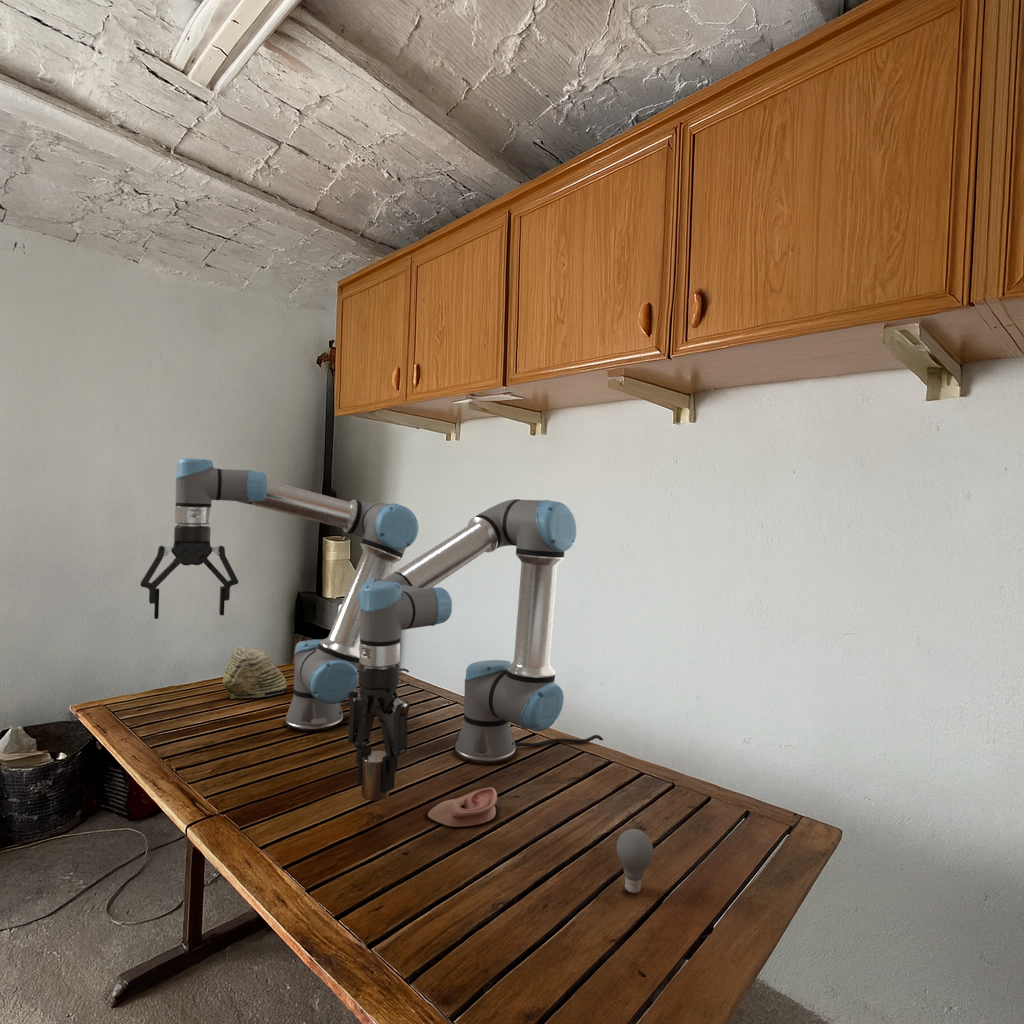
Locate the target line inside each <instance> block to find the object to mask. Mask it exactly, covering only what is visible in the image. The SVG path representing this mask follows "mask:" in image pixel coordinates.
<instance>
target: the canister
mask: <svg viewBox="0 0 1024 1024" xmlns="http://www.w3.org/2000/svg"><path fill="white" fill-rule="evenodd" d="M384 756H386V752H385V750H371V752H368V753H366V754H364V755H363V757H362V784H361V792H360V795H361V798H362V799H364V800H367V801H370V802H371V801H373V802H376V801H381V800H385V799H387V798H388V797H389V796H390V794H391V790H389V791H387V792H386V793H383V792H382V758H383V757H384Z"/></svg>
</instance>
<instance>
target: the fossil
mask: <svg viewBox="0 0 1024 1024" xmlns="http://www.w3.org/2000/svg"><path fill="white" fill-rule="evenodd" d="M222 676H223V677H222V685H223V687H224V688H225V690H226V691H228V693H229V698H230V699H250V698H264V697H271V696H275V695H281V694H284V693H285V691H286V689H287V687H288V686H287V680H286V678H285V676H284V674H283V673H282V672H281V669H279V668H278V667H277V665H276V663H275V662H274V660H273V659H272V658H271V657H270V656H269V655H268V654H267V653H266V652H265V650H264V649H263V648H260V647H258V648H251V647H247V646H246V647H245V646H238V647H237V648H236V649H235V650H233V651H232V653H231V656H230V657H229V659H228V660H227V663H226V666H225V668H224V671H223V675H222Z"/></svg>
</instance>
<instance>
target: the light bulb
mask: <svg viewBox="0 0 1024 1024" xmlns="http://www.w3.org/2000/svg"><path fill="white" fill-rule="evenodd" d="M615 849H616V854H617V857H618V859H619V861H620V863H621V865H622V867H623V873H624V874H623V875H624V876H625V878H624V888H625V890H627V891H628V892H630V893H634V894H635V893H639V892H640V891H641V889H642V887H641V886H642V879H643V877H644V875H645V871H646V868H647V867H648V866H649V864H650V863H651V861H652V859H653V855H654V847H653V843H652V841H651V838H649V836H648V835H647V834H646V833H645V832H643V831H642V830H641V829H636V828H629V829H627V830H625V831H623V832H622V833H621V834H620V835H619V837H618V839H617V841H616V847H615Z"/></svg>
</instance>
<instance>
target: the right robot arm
mask: <svg viewBox="0 0 1024 1024" xmlns="http://www.w3.org/2000/svg"><path fill="white" fill-rule="evenodd" d="M576 537H577V523H576V519H575V516H574V514H573V512H572V511H571V509H570V507H568V505H566V504H565V503H563V502H561V501H555V500H550V499H544V500H543V499H538V500H537V499H521V498H520V499H519V498H517V499H516V498H514V499H513V498H512V499H508V500H505V501H502V502H500V503H497V504H495V505H493V506H491V507H489V508H487V509H485V510H483V511H482V512H480V513H478V514H477V515H475V516H474V517H472V518H471V519H469V521H468V523H467V526H465V527H464V528H463V529H461V530H459V531H458V532H456V533H454V534H453V535H451V536H450V537H447V538H446V539H445V540H443V541H442V542H440V543H438V544H437V545H435V546H433V547H432V548H431V549H429V550H428V551H426V552H424V553H422V554H420V556H418V557H416V558H415V559H413V560H412V561H410V562H408V563H407V564H405V565H404V566H402V567H401V568H399V569H398V570H396V571H394V572H393V573H391V574H389V576H388V577H386V578H384V579H382V580H381V579H371V580H368V581H366V582H365V583H364V584H363V585H362V586H361V588H360V590H359V593H358V601H359V604H360V653H359V662H360V664H359V666H358V685H359V687H360V688H356V690H354V691H352V692H349V693H348V701H349V703H350V704H349V710H348V712H349V713H348V731H347V732H348V733H347V741H348V743H349V744H353V745H354V746H355V747H354V748H355V749H356V753H355V754H356V755H355V762H356V765H357V785H360V786H362V757H363V755H364V754H366V753H368V752H372V746H371V745H370V744H371V741H370V738H371V733H372V730H373V726H374V723H375V717H377V721H378V722H379V723H380V727H381V728H380V729H381V735H382V740H383V741H382V742H383V746H384V751H385V752H386V756H384V757H383V758H382V792H383V793H386V792H387V791H389V790H390V791H391V790H392V789H395V777H396V774H397V772H398V764H399V763H398V762H399V761H398V760H399V757H400V756H403V755H405V754H407V753H408V714H409V709H410V705H411V703H410V702H409V701H407V700H406V701H403V700H401V699H400V698H399V694H398V691H397V688H398V685H399V683H400V671H399V669H400V665H399V663H400V661H401V634H402V631H405V630H411V629H417V628H424V627H425V628H426V627H434V626H436V625H441V624H443V623H445V622H447V621H448V620H449V619H450V618H451V615H452V612H453V601H452V597H451V595H450V592H448V590H447V589H445V588H444V587H441V586H440V587H438V586H436V585H438V584H440V583H441V582H443V581H444V580H445V579H447V578H448V577H450V576H452V575H453V574H455V573H456V572H457V571H459V570H460V569H462V568H463V567H464V566H467V564H469V563H471V562H472V561H473V560H475V559H476V558H478V557H479V556H480V555H482V554H484V553H492V552H494V551H496V550H497V549H499V548H503V547H510V546H511V547H512V546H514V547H515V556H516V557H517V558H518V559H519V560H520V562H521V565H520V578H519V589H518V602H517V603H518V604H517V615H516V629H515V639H514V640H515V641H514V655H513V662H511V661H509V660H504V659H503V660H502V659H489V660H479V661H476V662H475V661H474V662H472V663H470V664H469V665H468V666H467V667H466V669H465V670H466V671H465V679H464V697H463V700H464V701H463V702H464V703H463V722H462V725H461V728H460V729H459V730H458V731H457V732H456V733H455V734H454V740H456V741H455V746H454V747H455V748H454V753H455V755H456V756H457V757H458V758H459V759H461V760H463V761H465V762H467V763H472V764H476V765H497V764H498V765H499V764H502V763H506V762H508V761H511V760H512V759H513V758H514V757H515V756H516V747H541V746H545V745H548V744H549V745H550V744H552V743H573V744H585V743H590V742H591V741H593V740H595V739H598V740H599V741H604V738H603V737H602V736H601V735H600V734H594V735H591V736H590V737H587V738H582V739H579V738H578V739H577V738H566V737H565V738H564V737H561V738H560V737H559V738H551V739H547V740H543V741H539V742H523V741H522V742H520V741H519V742H516V741H515V740H514V736H513V732H512V728H511V724H514V725H516V726H518V727H521V728H522V729H524V730H529V731H533V732H534V731H535V732H543V731H546V730H547V729H549V728H550V727H552V725H554V724H555V722H556V720H557V719H558V718H559V716H560V714H561V712H562V709H563V705H564V702H565V701H564V700H565V698H564V697H565V696H564V691H563V689H562V687H561V685H559V684H558V683H557V682H556V681H555V680H556V671H555V669H554V668H553V667H552V666H551V663H550V662H551V650H552V638H553V624H554V611H555V599H556V597H555V596H556V584H557V571H558V565H559V564H560V563H561V562H563V560H564V559H565V552H566V551H568V550H570V549H571V548H572V547H573V545H574V544H573V543H575V540H576ZM435 586H436V587H435ZM510 723H511V724H510Z"/></svg>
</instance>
